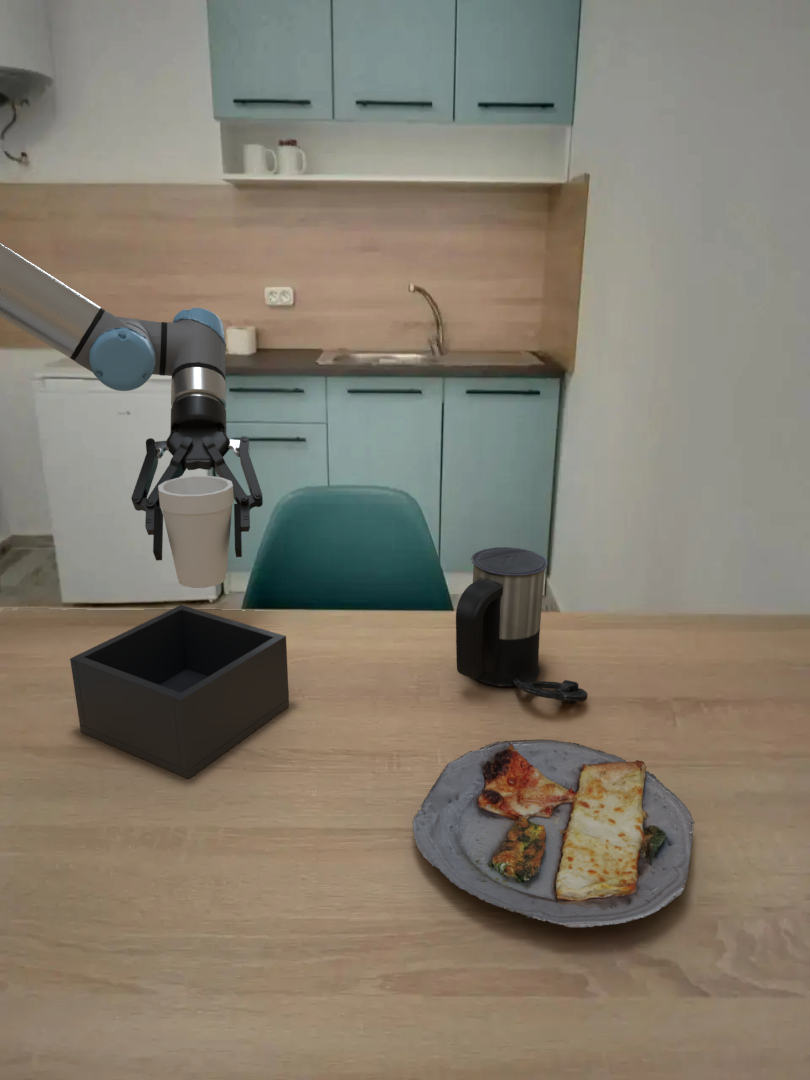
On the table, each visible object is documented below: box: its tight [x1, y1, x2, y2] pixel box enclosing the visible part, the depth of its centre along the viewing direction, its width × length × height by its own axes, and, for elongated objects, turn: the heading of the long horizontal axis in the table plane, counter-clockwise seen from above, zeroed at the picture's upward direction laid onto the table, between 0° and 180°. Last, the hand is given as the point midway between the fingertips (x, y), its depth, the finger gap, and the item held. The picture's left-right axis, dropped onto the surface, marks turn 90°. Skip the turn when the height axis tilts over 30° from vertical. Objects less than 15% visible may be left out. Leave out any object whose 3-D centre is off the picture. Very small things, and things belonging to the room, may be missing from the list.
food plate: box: [412, 738, 695, 929], centre depth 74 cm, size 25×23×4 cm
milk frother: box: [455, 546, 589, 705], centre depth 98 cm, size 14×16×15 cm
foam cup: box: [158, 475, 235, 589], centre depth 109 cm, size 10×9×13 cm
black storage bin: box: [69, 604, 290, 780], centre depth 91 cm, size 16×16×9 cm
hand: (198, 554), depth 107 cm, fingers closed on foam cup, 9 cm apart
